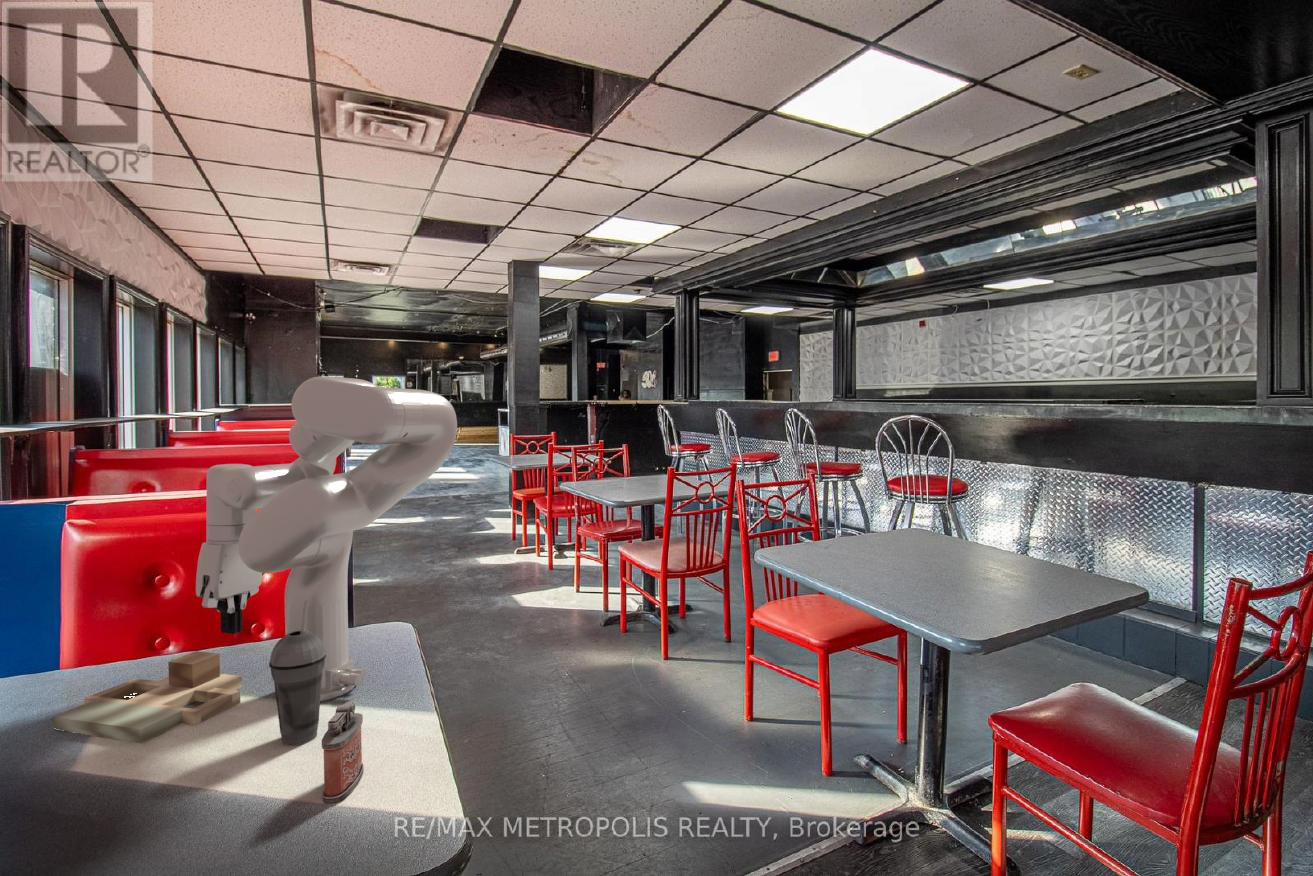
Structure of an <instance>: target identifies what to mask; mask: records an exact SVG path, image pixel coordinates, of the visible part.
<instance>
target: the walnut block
mask: <svg viewBox="0 0 1313 876" xmlns="http://www.w3.org/2000/svg"><path fill="white" fill-rule="evenodd" d="M220 655H221V654H220V653H217V652H206V651H197V650H196V651H193V652H190V653H188V654H186V655H183V656H180V657H177V658H175V659H173V660H172V659H171V660H169V661H168V677H169V686H178V687H186V688H195V687H197V686H199V685H202V684H204V683H206V682H209V681H211V680H213V679H215V678H218V677H220V674H221V669H220V668H221V663H220V661H221V660H220Z"/></svg>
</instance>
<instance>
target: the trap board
mask: <svg viewBox="0 0 1313 876" xmlns="http://www.w3.org/2000/svg"><path fill="white" fill-rule="evenodd" d="M242 680H243V679H242V675H237V674H227V673H220V677H218V678H215V679H213V680H211V681H209V682H206V683H204V684H202V685H199V686H197V687H195V688H186V687H178V686H169V676H167V677H165V678H163V679H161V680H153V679H152V680H151V679H145V678H133V679H130V680H128V681H125V682H123V683H120V684H118V685H115V686H112V687H110V688H107V689H104V690H103V691H99V692H97V693H94V694H91V695H88V696H87V697H84V699H83V700H84V702H83V703H84V704H82V705H79V706H76V707H74V708H72V709H70V710H67V711H63V712H62V713H59V714H56V715H54V716H52V727H53V728H56V729H60V730H64V731H68V732H67V733H71V732H75V733H74V734H78V733H81V734H80V735H84V734H85V736H93V737H99V738H105V739H113V740H118V741H125V742H134V743H141V744H143V743H145V742H147V741H149V740H151V739H153V738H156V737H157V736H160V735H162V734H163V733H165V732H168V731H169V730H172V729H174V728H176V727H178V726H180V725H189V726H197V725H199V724H201V723H203V722H204V721H207V720H208V719H211V718H212V717H215V716H217V715H219V714H221V713H222V712H225V711H226V710H229V709H231V708H233V707H234V706H237V705H239V704H241V690H239V689H242V687H243V681H242ZM133 693H137V694H135V695H133ZM130 694H132V695H130ZM124 696H135V697H134V698H133V697H131V698H129V697H126V698H124ZM53 728H52V729H53ZM64 731H63V732H64Z"/></svg>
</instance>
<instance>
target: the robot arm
mask: <svg viewBox="0 0 1313 876" xmlns="http://www.w3.org/2000/svg"><path fill="white" fill-rule="evenodd" d="M291 412H292V415H293V418H294V419H295V421H296V422H295V423H294V424H293V425H292V426H291V427H290V430H289V433H288V439H289V444H290V446H291V447H292V449H293V450H294V452H295V453H296V454H297V455H298V456H299V457H298V458H296V459H295V460H294V461H292V462H291V463H280V464H279V463H278V464H277V463H276V464H265V465H255V466H253V465H250V464H245V463H244V464H243V463H226V464H225V463H224V464H216V465H213V466H210V467H209V468H208V470H207V471H206V542H205V541H204V542H202V544H201V547H200V551H199V555H198V560H197V568H196V576H195V577H196V578H195V596H196V597H197V598H202V602H201V606H202V607H203V608H209V609H211V608H215V610H216V611H217V612H218V613H220V633H221V634H230V635H236V634H238V633H241V632H242V631H243V610H244V609H246V607H247V602H248V601H249V599H250V598H251V597H252V596H254V595H256V594H258V592H259V590H260V589H259V586H261V584H262V581H263V574H272V573H273V574H274V573H278V572H284V571H286V570H289V569H291V571H290V572H289V575H288V577H287V580H286V584H285V588H284V618H285V619H284V623H285V635H287V634H289V633H291V632H294V631H301V625H302V616H303V608H304V601H308V607H307V616H306V625H305V631H308V632H311V633H313V634H315V635H316V636H317V637H318V638H319V639H320V640H321V642H322V644H323V646H324V650H325V654H326V657H325V663H324V669H323V671H322V682H321V696H320V702H325V701H328V700H331V699H335V698H338V697H340V696H344V695H345V694H347V693H349V692H350V690H351V691H352V690H353V689H355V688H356V687H360V686H361V685H362V683H363V681H364V678H365V677H366V676H367V670H366V669H362V668H355V659H354V658H349V653H350V652H349V610H348V608H349V607H348V606H349V605H348V602H349V601H348V597H349V596H348V575H349V574H348V571H349V570H348V569H349V562H350V561H349V559H350V554H351V549H352V544H353V538H354V536H353V535H354V531H358V530H361V529H363V528H366V527H368V526H369V525H371V524H372V523H374V522H375V521H376V520H377V519H379V518H380V516H382V515H384V514H385V513H386V512H387V511H388V510H389V509H391V508H392V507H394V506H395V505H396V504H397V503H399V502H400V501H401V500H402V499H403V498H404V497H406V496H407V495H408V494H410V493H411V492H412V491H413V490H414V489H415V488H418V486H420V485H422V484H423V483H424V482H425V481H427V480H428V479H429V478H430V477H431V476H432V475H433V474H435V472H437V471H438V470H439V468H441V466H443V464H444V463H445V462H446V461H447V459H448V458H449V456H450V455H451V452H452V450H453V448H454V446H455V443H456V437H457V434H458V433H457V432H458V420H457V414H456V411H455V408H454V406H453V405H452V403H450V401H449V400H448V399H447V398H446V397H444V396H443V395H440V394H439V393H436V392H433V391H429V390H426V389H425V390H424V389H415V388H397V387H384V386H377V385H375V384H374V383H373V382H370V381H367V380H365V379H361V378H353V377H351V378H349V377H336V376H324V375H322V376H313V377H311V378H309V379H307V380H304V381H303V382H302V383H300V384H299V386H298V387H297V388H296V390H295V392H294V393H293V396H292V399H291ZM356 442H358V443H361V444H362V443H363V444H369V445H370V444H371V445H373V444H374V445H385V446H383V447H380V449H378V450H376V451H375V452H373V453H371V454H370V455H369V456H368V457H367V458H365V459H364V461H362V462H361V463H360V464H359V465H357V466H355V467H354V468H353V469H350V470H349V471H346V472H343V473H335V474H334V472H335V470H336V465H337V457H339V456H340V455H341V454H342V453H344V452H345V451H346V450H347V449H348V448H349V447H350V446H351V445H353V444H354V443H356ZM257 510H258V511H257ZM355 686H356V687H355ZM354 687H355V688H354ZM348 691H349V692H348ZM337 696H338V697H337Z"/></svg>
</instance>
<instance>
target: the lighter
mask: <svg viewBox="0 0 1313 876" xmlns="http://www.w3.org/2000/svg"><path fill="white" fill-rule="evenodd" d="M355 710H356V701H354V700H352V701H351V700H350V701H346V702H345V703H343V705H338V706H337V707H336V709H335V712H334V715H333V716H332V717H331V718H330V719H329V720H328V722H327V730H326V732H325V733H324V735H323V737H322V739H321V749H322V750H323V784H324V785H323V789H324V790H323V792H322V804H324V805H327V806H332V805H338V804H340V803H343V802H344V801H345V800H346V799H347V798H348V797H349V796H350V795H352V794H353V792H354V790H355V789H356V788H357V787H358V786H359V784H360V783H361V782H360V781H361V780H362V778H363V774H364V773H365V772H364V771H365V769H364V765H365V764H364V763H363V755H362V754H363V753H362V750H363V749H362V745H363V744H362V724H363V721H364V718H363V714H362V713H359V712H357V713H355Z"/></svg>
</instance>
